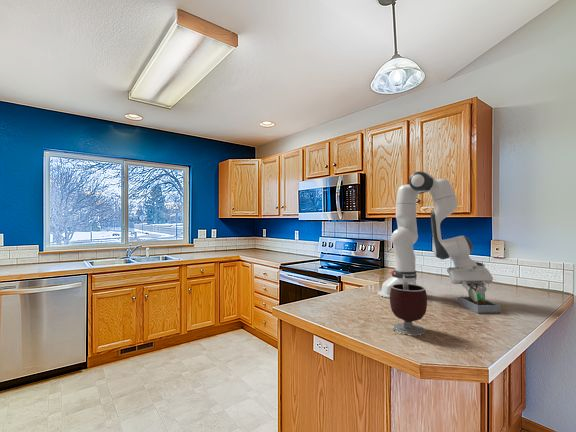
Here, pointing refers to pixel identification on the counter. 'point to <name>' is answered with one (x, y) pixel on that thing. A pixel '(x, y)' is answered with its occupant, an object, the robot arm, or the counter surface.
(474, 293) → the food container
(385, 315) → the counter surface
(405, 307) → the mate gourd
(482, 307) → the tray
